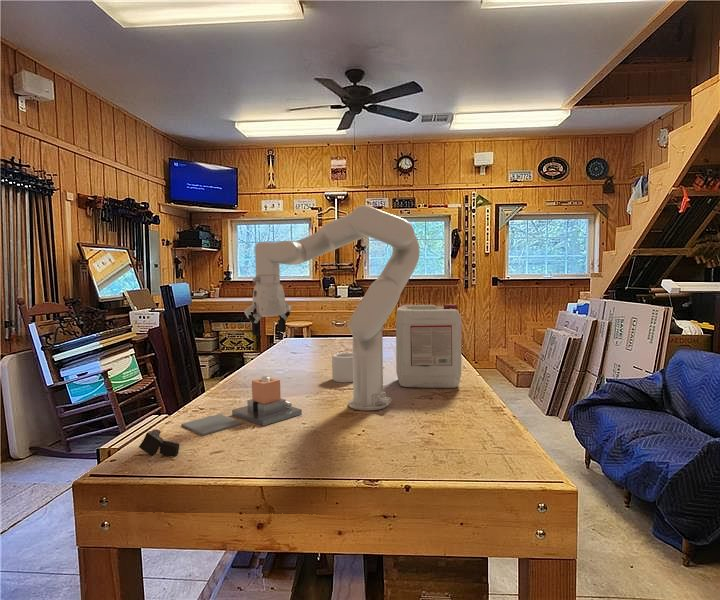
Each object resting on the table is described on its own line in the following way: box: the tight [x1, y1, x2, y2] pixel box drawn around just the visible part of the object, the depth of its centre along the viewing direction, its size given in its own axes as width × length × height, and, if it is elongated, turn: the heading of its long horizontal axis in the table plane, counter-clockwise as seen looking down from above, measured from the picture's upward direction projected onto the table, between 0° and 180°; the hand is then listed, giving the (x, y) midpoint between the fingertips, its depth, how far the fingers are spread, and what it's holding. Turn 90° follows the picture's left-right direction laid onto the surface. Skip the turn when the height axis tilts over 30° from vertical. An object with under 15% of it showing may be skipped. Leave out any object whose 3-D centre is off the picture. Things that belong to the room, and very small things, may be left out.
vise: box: [231, 375, 303, 427], centre depth 140 cm, size 16×14×12 cm
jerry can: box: [395, 303, 463, 389], centre depth 175 cm, size 24×19×30 cm
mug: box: [331, 352, 353, 383], centre depth 185 cm, size 14×11×10 cm
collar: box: [251, 377, 282, 404], centre depth 140 cm, size 6×6×6 cm
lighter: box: [138, 429, 180, 457], centre depth 111 cm, size 9×2×6 cm
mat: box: [181, 413, 243, 437], centre depth 132 cm, size 12×12×1 cm
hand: (269, 333), depth 150 cm, fingers open, 9 cm apart
